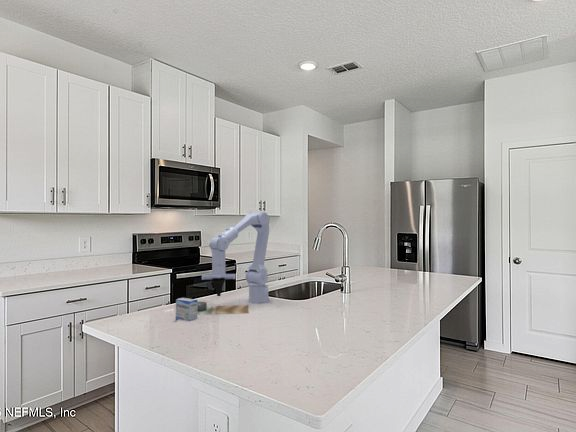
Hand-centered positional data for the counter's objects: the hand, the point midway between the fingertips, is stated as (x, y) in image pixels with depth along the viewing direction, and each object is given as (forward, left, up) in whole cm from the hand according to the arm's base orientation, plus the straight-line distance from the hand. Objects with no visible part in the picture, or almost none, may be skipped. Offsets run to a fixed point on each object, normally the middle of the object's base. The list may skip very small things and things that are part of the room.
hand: (218, 295), depth 166 cm
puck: (+8, 0, -6) cm, 10 cm away
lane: (+1, 0, -7) cm, 7 cm away
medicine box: (+12, +12, -8) cm, 19 cm away
